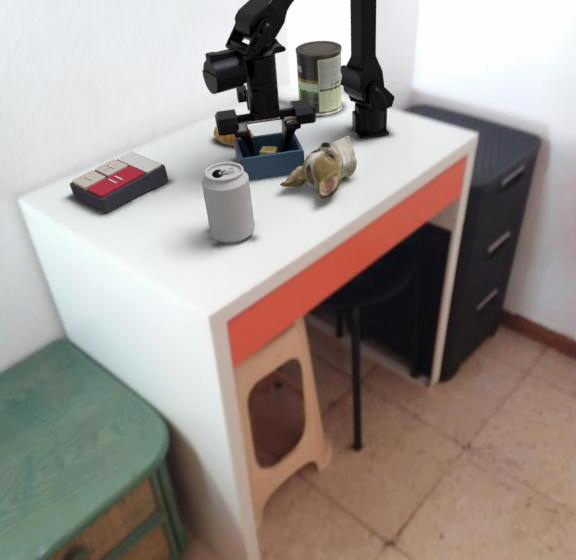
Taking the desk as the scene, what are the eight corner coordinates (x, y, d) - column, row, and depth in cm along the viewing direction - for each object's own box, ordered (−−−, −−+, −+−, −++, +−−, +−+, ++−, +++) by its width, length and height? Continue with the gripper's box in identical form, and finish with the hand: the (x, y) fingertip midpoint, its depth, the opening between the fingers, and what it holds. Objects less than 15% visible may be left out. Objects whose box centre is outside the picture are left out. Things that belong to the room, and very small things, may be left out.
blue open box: (294, 151, 126) (293, 130, 123) (305, 172, 118) (303, 150, 115) (236, 159, 124) (233, 139, 122) (242, 181, 117) (239, 159, 114)
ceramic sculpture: (371, 133, 109) (320, 170, 101) (372, 175, 114) (324, 213, 106) (324, 121, 115) (273, 155, 107) (328, 162, 120) (279, 197, 112)
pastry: (262, 141, 131) (260, 124, 129) (238, 152, 127) (236, 135, 125) (234, 130, 137) (231, 114, 134) (210, 140, 133) (208, 124, 131)
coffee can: (297, 117, 140) (293, 55, 132) (301, 100, 148) (297, 41, 140) (341, 116, 139) (340, 53, 130) (343, 99, 147) (342, 39, 139)
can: (211, 224, 105) (200, 161, 98) (254, 219, 105) (246, 156, 98) (210, 248, 99) (198, 182, 92) (256, 243, 99) (248, 177, 92)
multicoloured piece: (67, 180, 114) (130, 147, 122) (74, 199, 117) (136, 166, 125) (99, 196, 108) (164, 161, 116) (106, 216, 111) (169, 181, 119)
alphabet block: (263, 159, 122) (262, 145, 121) (278, 159, 122) (277, 145, 120) (260, 166, 120) (258, 151, 118) (275, 166, 119) (274, 152, 118)
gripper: (302, 60, 118) (306, 135, 128) (207, 73, 116) (218, 148, 126) (314, 78, 109) (318, 157, 119) (212, 92, 107) (224, 171, 117)
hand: (269, 158), depth 120 cm, fingers open, 6 cm apart
